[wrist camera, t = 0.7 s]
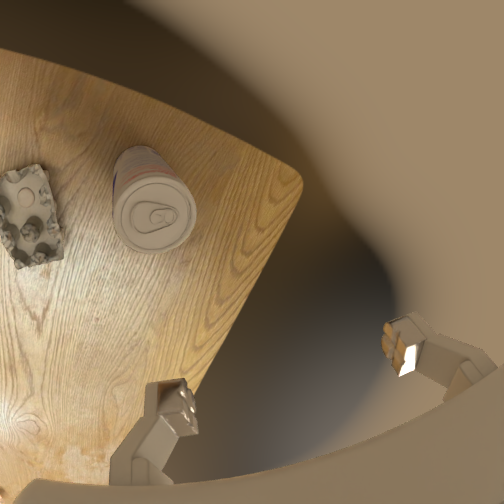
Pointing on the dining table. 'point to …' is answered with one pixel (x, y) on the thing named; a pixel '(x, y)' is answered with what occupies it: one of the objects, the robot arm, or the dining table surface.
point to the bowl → (2, 500)
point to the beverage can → (150, 202)
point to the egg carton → (29, 218)
